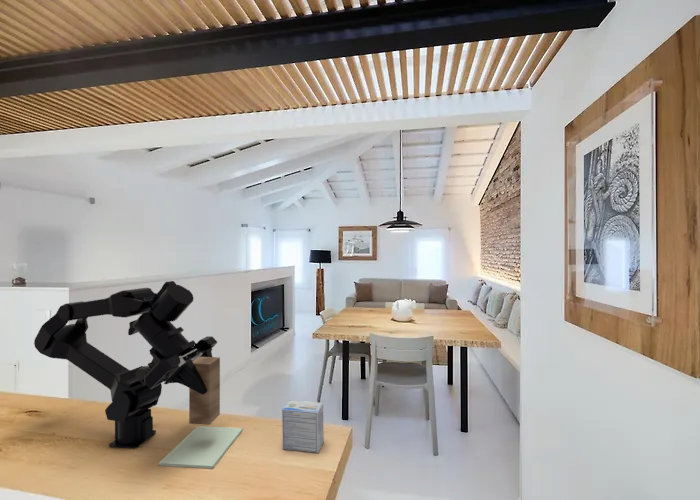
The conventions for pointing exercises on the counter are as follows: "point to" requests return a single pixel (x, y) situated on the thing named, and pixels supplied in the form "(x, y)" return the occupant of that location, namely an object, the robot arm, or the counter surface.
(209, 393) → the walnut block
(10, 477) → the counter surface
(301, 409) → the medicine box
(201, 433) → the rubber mat
